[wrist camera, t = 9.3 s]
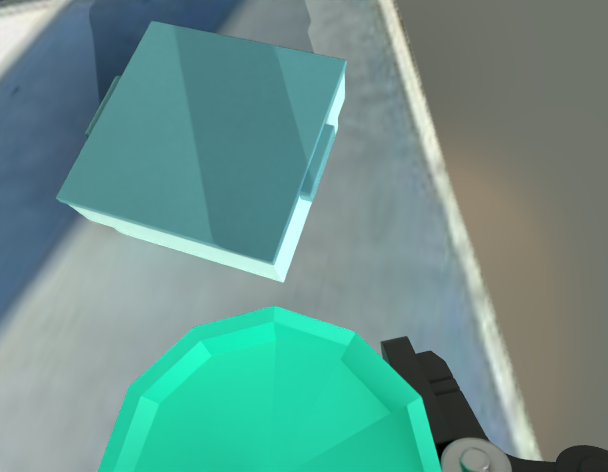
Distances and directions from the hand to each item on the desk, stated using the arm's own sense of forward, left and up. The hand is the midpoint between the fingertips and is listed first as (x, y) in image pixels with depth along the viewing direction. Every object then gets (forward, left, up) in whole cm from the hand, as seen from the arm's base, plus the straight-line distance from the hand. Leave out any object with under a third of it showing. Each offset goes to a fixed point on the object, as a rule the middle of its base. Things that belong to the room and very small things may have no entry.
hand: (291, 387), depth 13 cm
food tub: (-10, +12, -15) cm, 22 cm away
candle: (+1, -2, -6) cm, 6 cm away
